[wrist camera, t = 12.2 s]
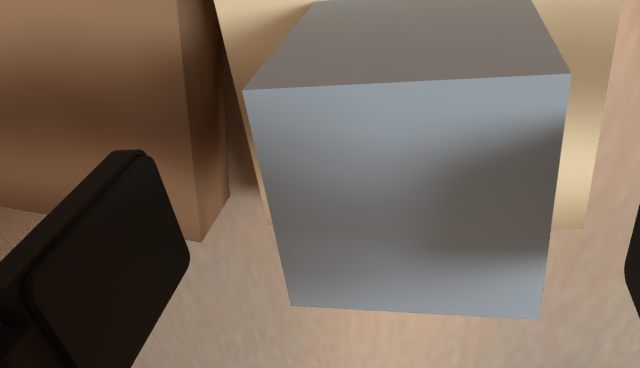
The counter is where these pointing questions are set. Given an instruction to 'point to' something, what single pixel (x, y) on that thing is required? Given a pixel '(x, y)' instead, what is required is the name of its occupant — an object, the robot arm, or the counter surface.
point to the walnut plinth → (112, 100)
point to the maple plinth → (560, 20)
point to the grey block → (413, 154)
